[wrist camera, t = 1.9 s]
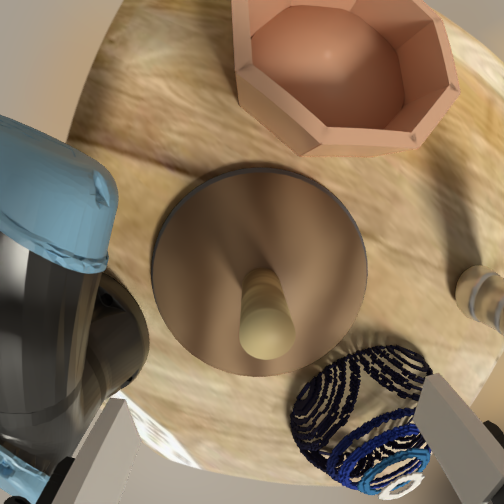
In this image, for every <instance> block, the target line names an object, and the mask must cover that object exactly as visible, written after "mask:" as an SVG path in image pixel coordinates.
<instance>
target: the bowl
mask: <svg viewBox="0 0 504 504" xmlns="http://www.w3.org/2000/svg"><path fill="white" fill-rule="evenodd" d="M231 4H232V24H233V44H234V63H235V76H236V84H237V92H238V101H239V105H240V107H242V108H243V109H244V110H245V111H247V112H248V113H249V114H250V115H251V116H253V117H254V118H255V119H256V120H257V121H259V122H260V123H261V124H262V125H263V126H265V127H266V128H267V129H268V130H269V131H270V132H272V133H273V134H274V135H275V136H276V137H277V138H278V139H280V140H281V141H282V142H283V143H284V144H285V145H286V146H288V147H289V148H290V149H291V150H292V151H293V152H294V153H295V154H296V155H297V156H300V157H376V156H381V155H386V154H392V153H397V152H403V151H409V150H415V149H418V148H419V147H420V146H421V145H422V144H423V142H424V141H425V140H426V138H427V137H428V136H429V135H430V133H431V132H432V131H433V129H434V128H435V127H436V126H437V124H438V123H439V122H440V120H441V119H442V118H443V116H444V115H445V114H446V112H447V111H448V110H449V108H450V107H451V106H452V104H453V103H454V102H455V100H456V99H457V98H458V96H459V95H460V93H461V92H460V86H459V81H458V76H457V72H456V67H455V63H454V59H453V55H452V51H451V47H450V43H449V40H448V36H447V33H446V30H445V26H444V23H443V20H441V18H440V17H439V16H438V15H437V14H436V13H435V12H434V11H433V10H432V9H431V8H430V7H429V6H428V5H427V4H426V3H425V2H424V1H423V0H231Z"/></svg>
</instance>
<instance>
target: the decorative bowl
mask: <svg viewBox="0 0 504 504" xmlns="http://www.w3.org/2000/svg"><path fill="white" fill-rule="evenodd" d="M385 348H386V349H387V350H388V352H390V353H391V354H393V355H394V356H395V357H396V358H398V359H399V360H401V361H402V362H404V364H407V365H408V366H410V367H411V368H413V369H416V370H419V371H422V372H427V373H426V374H427V375H426V376H429V375H433V373H432V372H433V370H432V369H431V368H430V367H429V365H428V364H427V363H426V362H425V361H424V358H423V357H422V356H421V355H420V354H417V353H415V352H413V351H410V350H408V349H405V348H403V347H400V346H398V345H396V346H393V345H390V346H387V345H386V346H385V347H384V346H381V345H380V346H379V347H378V346H375V347H372V349H371V348H369V347H368V348H367V349H365V350H362V351H358V350H357V352H356V353H355V354H354V353H353V355H351V354H348V355H347V357H344V358H341V359H338V360H337V361H336V362H333V364H332V365H329V366H326V367H325V369H324V370H323V371H322V373H323V374H324V375H325V379H324V380H325V383H324V387H323V388H324V389H323V390H322V388H321V386H322V377H321V376H322V373H321V372H319V374H318V375H317V377H315V376H314V378H313V379H312V380H311V382H310V383H307V384H306V385H305V387H304V388H303V390H302V391H301V392H300V394H299V395H298V396H297V398H296V399H298V400H297V401H296V402H295V404H294V408H293V409H292V410H293V412H292V413H291V415H290V418H291V423H290V425H291V431H292V436H293V439H294V441H295V442H296V443H297V446H298V447H299V448H300V453H302V454H303V455H304V456H305V457H306V459H307V460H308V461H310V463H313V465H314V466H315V467H317V468H318V469H320V470H322V471H323V472H326V474H328V475H329V476H331V478H332V479H334V481H338V483H342V486H346V487H348V488H350V489H354V490H359V491H360V492H364V494H368V495H375V494H378V499H382V500H392V499H394V498H399V497H402V496H403V495H404V494H407V493H408V492H410V491H412V490H413V489H414V488H415V487H417V486H418V485H419V484H420V483H421V480H422V479H423V478H424V477H425V476H424V475H422V472H423V471H422V470H424V469H425V468H426V465H427V464H428V462H429V460H430V455H431V454H430V453H431V451H432V450H431V449H430V447H429V446H428V444H427V445H426V446H425V447H424V449H419V448H420V447H421V446H422V445H423V444H424V443H425V442H426V441H425V439H424V437H423V436H422V434H421V432H420V431H419V429H418V428H417V426H416V424H412V423H410V422H411V421H412V419H413V417H412V418H411V419H410V421H409V422H408V423H407V424H405V425H404V426H399V427H394V428H393V429H392V430H387V431H384V432H383V433H382V434H381V435H378V436H375V437H374V438H373V439H370V440H369V441H368V442H365V443H364V444H363V445H362V446H361V447H358V448H357V449H356V450H355V451H354V452H352V453H349V452H347V453H345V454H342V453H343V452H344V451H345V450H346V449H347V448H348V447H349V446H350V445H351V444H352V443H353V442H352V441H353V440H354V439H356V440H358V439H359V438H360V437H363V436H364V435H365V434H368V433H369V432H370V431H371V430H372V429H373V428H374V427H379V426H380V425H381V424H382V423H383V422H385V423H387V422H388V421H389V420H390V419H391V420H396V419H401V418H402V417H403V418H404V416H409V417H410V416H411V415H414V413H415V410H416V407H415V408H414V409H410V408H406V407H405V408H404V409H401V408H398V410H395V411H392V412H391V413H389V412H387V413H386V414H383V415H380V416H379V417H376V418H373V419H372V420H371V421H368V422H367V423H364V424H363V425H362V426H361V427H360V428H359V427H358V428H357V429H356V430H355V431H354V430H353V431H352V432H351V433H350V434H349V435H346V436H345V437H344V438H343V439H342V440H341V441H340V442H339V443H338V444H337V445H336V446H335V447H334V448H333V450H332V453H328V452H322V451H320V450H319V449H321V448H322V447H323V446H326V445H327V444H328V443H329V439H330V438H331V437H332V436H333V435H334V434H335V433H336V431H337V430H338V429H339V428H340V427H341V426H344V425H345V424H346V423H347V422H348V421H347V419H348V418H349V417H350V415H348V413H351V412H352V411H353V410H354V409H353V407H354V404H355V403H356V401H357V400H356V399H357V395H358V392H359V390H358V389H359V388H360V387H359V385H360V382H361V380H360V379H358V378H360V377H361V376H360V374H359V373H360V372H361V371H360V366H359V365H358V364H357V363H356V362H358V361H360V363H361V364H362V365H363V366H364V369H363V370H364V371H366V372H367V374H370V373H371V375H370V377H372V378H373V379H375V380H376V381H378V383H379V384H380V385H382V386H383V387H386V389H388V390H389V391H392V392H393V391H396V392H398V393H397V395H398V396H400V398H404V399H406V397H409V398H412V400H416V401H419V398H420V395H418V394H415V393H413V394H412V395H410V394H407V393H406V392H404V391H401V389H397V387H395V386H394V385H392V384H393V381H394V382H395V383H396V384H399V385H401V386H402V387H404V388H405V389H408V390H410V389H411V388H413V389H416V390H420V391H422V388H421V387H417V386H414V385H413V384H411V383H407V384H403V383H404V382H408V381H409V380H408V379H406V378H404V377H403V376H402V375H400V374H399V373H397V372H395V371H394V370H393V369H391V368H390V367H388V366H387V365H385V366H383V365H384V362H382V361H381V360H380V359H379V358H378V360H377V356H376V354H377V355H379V353H380V357H381V358H382V357H384V358H385V359H387V360H388V362H390V363H391V364H393V365H394V366H396V367H397V368H398V369H400V370H401V371H402V373H401V374H403V375H404V376H407V375H409V376H408V378H409V379H412V380H413V381H415V382H418V383H421V384H424V381H425V377H424V378H422V377H420V376H418V377H417V378H416V374H413V373H411V372H410V371H407V370H406V369H404V368H403V367H402V366H403V364H402V363H400V362H399V361H398V360H396V359H395V358H393V359H391V358H389V355H390V354H389V353H387V354H385V353H386V351H385V350H384V351H383V352H382V350H381V349H385ZM394 349H396V350H398V351H400V352H401V353H403V354H404V355H406V356H407V357H408V358H410V359H412V360H415V361H417V362H420V363H421V364H423V366H424V367H422V368H421V367H419V366H416V365H413V364H411V363H410V362H408V361H407V360H405V359H404V358H401V356H400V355H398V354H397V353H395V352H394ZM372 350H373V351H374V353H373V352H372ZM375 353H376V354H375ZM410 353H411V354H414V355H411V354H410ZM362 354H363V355H365V354H367V356H370V354H371V356H370V358H371V360H372V362H371V364H373V365H374V363H375V364H377V365H378V366H379V367H380V368H381V372H382V373H383V374H384V375H386V374H389V375H390V376H391V377H392V378H391V380H393V381H391V380H390V379H388V378H387V377H385V376H384V375H383V374H382V373H380V374H378V373H379V370H377V369H376V368H374V367H373V366H371V370H370V371H369V369H370V367H369V364H370V363H369V361H367V360H366V358H364V357H363V356H362ZM357 355H358V356H359V357H360V360H359V359H358V358H357ZM353 357H354V359H355V360H353ZM347 359H350V360H349V361H348V362H349V364H350V366H349V368H350V370H351V371H353V373H351V376H350V379H351V381H350V385H349V386H350V389H349V391H350V392H351V393H350V395H348V396H347V398H346V399H347V400H346V401H345V402H346V404H345V405H344V406H343V407H342V411H341V414H340V416H339V419H341V420H340V421H339V422H338V423H337V424H334V425H333V426H332V427H331V428H330V429H329V431H328V432H327V433H326V434H325V435H324V436H323V437H322V438H323V440H321V439H319V440H316V441H313V442H312V443H310V442H307V443H305V442H304V441H301V439H302V440H307V439H308V440H309V441H310V440H311V439H313V438H314V437H315V438H317V439H318V437H321V436H322V435H323V434H324V433H325V432H326V431H327V430H328V428H329V427H330V426H331V425H332V424H333V423H334V422H335V420H336V419H337V416H338V415H339V412H337V411H338V409H339V404H340V402H341V399H342V397H343V394H344V390H345V389H344V388H345V387H346V386H345V384H346V381H345V380H346V377H345V375H346V372H345V371H346V370H347V369H346V363H345V362H347ZM336 366H338V368H339V371H342V372H340V373H339V376H338V378H339V380H340V381H342V382H341V385H340V384H339V385H338V389H337V390H338V391H337V392H336V393H337V394H336V396H335V397H334V398H335V399H334V400H333V398H332V397H333V396H334V395H335V391H336V390H335V387H336V386H337V382H338V380H337V378H336V377H337V369H336ZM331 368H333V370H334V374H333V375H334V378H333V377H332V376H331V375H330V374H332V373H333V372H332V370H330V369H331ZM354 374H355V375H357V376H355V375H354ZM379 377H381V378H382V380H379ZM332 379H333V380H334V382H333V385H332V387H333V388H332V389H331V390H332V391H331V395H330V398H329V399H328V403H327V404H326V405H325V406H326V407H325V409H324V410H323V411H322V412H319V413H318V414H317V416H316V417H315V418H314V419H313V420H312V422H313V423H312V424H311V425H309V426H308V427H301V428H300V426H299V425H302V424H303V423H304V424H307V422H308V421H309V420H310V419H311V418H313V417H314V416H315V415H316V413H317V412H318V409H319V408H320V406H321V405H322V404H323V403H324V399H327V398H328V396H327V395H326V394H327V391H328V388H329V386H328V385H329V383H332ZM387 382H388V383H389V384H390V385H389V386H387V385H386V384H387ZM309 387H310V390H309V393H308V396H307V397H306V399H305V400H301V398H302V397H303V395H304V394H305V393H306V391H307V390H308V389H309ZM321 390H322V391H323V392H322V396H321V397H320V400H319V402H318V405H317V406H316V408H315V409H314V410H313V411H312V413H311V414H310V415H309V416H308V417H306V418H305V417H304V419H298V418H297V417H295V415H296V416H298V417H301V415H302V416H304V415H305V416H306V415H307V414H308V412H309V411H310V410H311V409H312V407H313V406H314V405H315V404H316V402H317V399H318V398H319V394H320V393H319V392H320V391H321ZM332 400H333V401H334V403H333V404H332V405H331V409H330V410H329V411H328V415H327V416H326V417H325V418H324V419H323V421H322V422H321V423H320V424H319V425H318V426H317V428H314V429H313V430H312V431H311V432H309V433H308V434H305V433H299V432H298V431H302V432H306V431H310V430H311V429H312V428H313V427H314V426H315V425H316V421H317V419H318V418H319V417H320V416H321V415H322V414H325V413H326V411H327V410H328V409H329V408H330V407H329V406H330V404H331V403H332ZM350 400H352V402H350ZM333 413H335V414H334V415H333V416H331V415H332V414H333ZM345 414H347V415H346V417H345V418H344V417H343V416H344V415H345ZM316 432H317V433H318V434H317V435H316ZM419 433H420V434H419ZM412 434H413V436H412V437H411V435H412ZM418 434H419V435H418ZM406 435H407V436H410V437H406V438H404V437H405V436H406ZM417 435H418V436H417ZM416 436H417V437H416ZM395 440H400V441H409V440H412V441H411V442H406V443H405V444H398V443H397V441H395ZM416 442H417V443H416ZM319 443H321V445H319ZM415 443H416V444H415ZM383 444H385V445H386V446H388V447H391V446H392V449H394V448H395V449H407V450H406V451H399V452H398V451H397V452H396V453H394V452H393V451H391V450H388V451H387V449H385V447H384V445H383ZM414 444H415V445H414ZM413 445H414V446H413ZM412 446H413V447H412ZM376 447H377V448H380V452H382V451H383V454H386V455H387V454H388V457H381V456H382V455H381V453H379V451H377V450H376ZM411 447H412V448H411ZM308 450H309V451H310V452H308ZM373 450H374V452H375V453H374V452H373ZM321 454H323V455H329V456H330V457H329V458H328V459H325V457H323V456H322V455H321ZM373 454H374V455H375V457H373V456H372V455H373ZM344 455H346V458H347V459H346V460H344ZM366 455H367V457H366ZM413 457H416V458H415V459H414V460H411V461H410V462H409V463H408V464H406V465H405V466H402V467H400V468H399V469H398V470H397V471H394V472H392V473H390V474H386V475H384V476H383V477H382V478H376V479H375V480H373V479H374V478H375V477H374V476H375V475H377V474H378V473H381V472H382V471H383V470H384V469H385V468H386V467H387V466H390V465H391V464H394V463H397V462H400V461H404V460H406V459H407V458H413ZM375 459H376V460H378V459H379V461H381V462H380V463H377V464H376V465H375V466H374V460H375ZM343 460H344V461H343ZM366 460H367V461H366ZM418 460H420V461H419V462H418V463H417V464H416V465H414V466H413V467H411V466H412V465H413V464H414V463H415V462H417V461H418ZM357 462H358V464H357ZM366 462H367V463H366ZM421 463H422V464H421ZM342 464H343V465H342ZM365 464H367V465H365ZM420 464H421V466H420V467H419V465H420ZM340 465H341V466H340ZM356 465H357V467H356V468H355V469H354V466H356ZM339 466H340V467H339ZM373 466H374V467H373ZM336 467H338V468H336ZM364 467H365V469H363V468H364ZM372 467H373V468H372ZM410 467H411V468H410ZM418 467H419V468H418ZM408 468H410V469H409V470H408V471H406V472H405V473H404V474H401V475H400V476H397V477H395V478H394V479H391V480H389V481H387V482H385V483H381V484H378V485H374V486H370V484H372V483H378V482H381V481H383V480H386V479H390V478H391V477H392V476H395V475H397V474H398V473H401V472H403V471H404V470H405V469H408ZM416 468H418V470H417V471H416V472H413V471H414V470H415V469H416ZM337 470H338V471H337ZM360 471H361V472H360ZM411 472H412V473H411ZM410 473H411V474H410ZM355 474H356V475H355ZM362 475H363V477H362V478H361V480H360V481H358V482H352V481H351V480H349V478H352V479H353V478H354V477H355V478H359V477H361V476H362ZM411 480H413V482H412V484H411V485H410V486H408V487H407V488H406V489H403V490H402V491H400V492H398V493H390V491H393V490H395V489H397V488H399V487H403V486H404V485H405V484H408V483H409V482H410V481H411ZM399 483H401V484H399ZM356 485H357V486H356ZM384 486H385V487H384ZM380 487H384V488H383V489H380V490H376V489H375V488H380Z"/></svg>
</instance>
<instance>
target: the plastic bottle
mask: <svg viewBox="0 0 504 504" xmlns="http://www.w3.org/2000/svg"><path fill="white" fill-rule="evenodd" d="M455 298H456V303H457V306H458V308H459V309H460V310H461V312H462V313H463V314H464V315H465V316H466V317H468V318H470V319H473V320H475V321H478V322H482V323H483V324H485V325H487V326H489V327H491V328H493V329H495V330H497V331H498V332H499V333H500V334H502V335H503V336H504V278H502V277H500V275H498V274H497V273H496V272H495V271H493V270H492V269H490V268H488V267H486V266H479V265H476V266H472V267H470V268H469V269H467V270H465V271H464V272H463V273H462V275H461V276H460V278H459V280H458V282H457V285H456V290H455Z"/></svg>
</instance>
